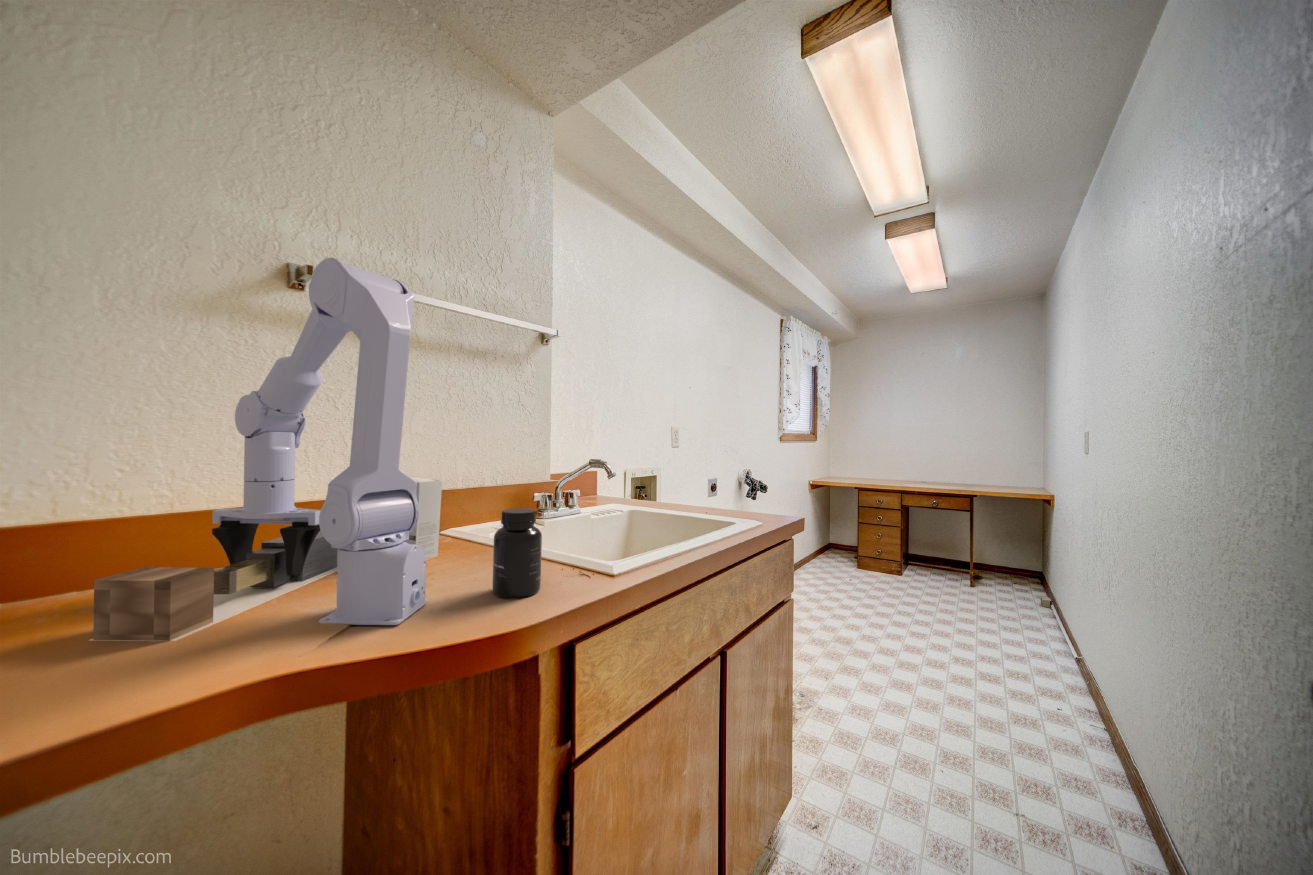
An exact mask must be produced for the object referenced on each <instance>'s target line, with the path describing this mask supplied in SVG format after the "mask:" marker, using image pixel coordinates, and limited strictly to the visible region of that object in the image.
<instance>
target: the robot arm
mask: <svg viewBox="0 0 1313 875" xmlns="http://www.w3.org/2000/svg"><path fill="white" fill-rule="evenodd" d="M308 297H309V303H310V305H311V308H312V309H311V312H310V313H309V316H308V318H307V319H306V321H305V324H304V326H303V328H302V331H301V333H300V335H299V337H298V340H297V341H296V344H295V346H294V348H293V351H292V352H291V355H290V356H289V355H288V356H284V357H283V356H282V357H280V358H277V359H276V360H275V363H274V364H273V365H272V367H271V369H270V371H269V373H268V374H267V375H266V377H265V379H264V380H263V382H262V384H261V385H260V387H259V389H258V390H252V391H251V392H250V393H249V394H245V395H243V396H241V397H240V398H239V400H238V403H237V405H236V408H235V412H234V423H235V427H236V429H237V431H238V433H239V434H240V435H241V436H243V437H244V449H243V450H244V453H243V455H244V456H243V459H244V460H243V507H239V508H237V507H236V508H234V507H233V508H228V507H227V508H221V509H215V510H214V509H213V510H212V524H213V525H214V524H215V525H219V526H218V527H214V528H212V529H211V534H212V535H213V536H214V537H215V538H216V540H217V541H218V542H219V544H220V546H221V547H222V549H223V551H224V553H225V555H226V556H227V560H228V562H229V565H232V564H235V563H238V562H242V561H245V560H246V553H249V552H252V551H253V546H254V542H255V541H254V540H255V536H256V533H257V530H258V527H259V525H260V524H271V525H272V524H273V525H274V524H275V525H281V524H282V525H290V526H284V527H281V528H279V532H280V533H279V534H280V535H281V537H282V538H283V541H284V546H285V551H286V572H287V576H293V575H295V574H298V573H301V572H302V570H303V567H304V563H305V560H306V557H307V554H308V552H309V549H310V547H311V545H312V543H313V541H314V539H315V538H316V536H317V534H318V533H319V531H320V530H321V533H322V535H323V537H324V538H325V539H326V540H327V542H328V543H329V544H331V547H332V548H337V571H336V607H335V609H336V610H335V611H333V612H331V613H329V614H327V615H326V616H324V617H322V618H321V619H318V624H328V625H329V624H331V625H332V624H341V625H342V624H344V625H345V624H346V625H347V624H349V625H351V626H356V625H357V626H397V625H400V624H401V623H402V622H404V621H405V620H406V619H408V618H409V617H411V616H412V615H413V614H414V613H416V612H418V610H420V609H421V608H422V607H424V606H425V605H426V604H428V602H429V600H428V598H426V578H427V577H426V574H427V569H426V566H427V562H426V561H427V560H426V557H425V552H424V550H423V548H422V547H421V546H419V545H413V544H408V543H406V542H404V541H405V540H408V539H409V532H411V531H412V530H413V529H414V528H415V526H416V525H417V522H418V519H419V505H418V501H417V496H416V487H417V483H416V482H415V481H414V480H413V479H412V478H413V477H412V478H411V476H409V475H408V474H407V473H406V472H404V471H403V470H402V469H400V460H401V458H400V457H401V447H402V438H403V437H402V436H403V426H404V425H403V423H404V412H405V402H406V401H405V400H406V392H407V380H408V379H407V378H408V369H409V358H410V357H409V356H410V347H411V337H412V336H411V335H412V329H413V328H412V327H413V317H414V315H413V314H414V307H415V306H414V305H415V303H414V302H415V295H414V294H413V293H412V291H410V289H409V288H408V287H407V285H406V284H404V283H403V282H402V281H400V280H398V279H394V278H389V277H386V276H383V275H381V274H378V273H375V272H372V271H369V270H366V269H363V268H360V267H358V266H354V265H351V264H350V263H346V262H343V261H342V260H340V259H338V258H335V257H326V258H324V259H323V260H321V261H320V262H319V263H318V264H317V265H316V266H315V267H314V269H313V271H312V274H311V277H310V282H309V284H308ZM351 332H352V333H353V334H354V335H355V336H356V337H357V339H358V340H359V351H358V352H359V353H358V362H357V376H356V387H355V398H354V412H353V422H352V424H353V425H352V432H351V433H352V434H351V445H350V446H351V447H350V458H349V466H348V467H347V468H345V470H343V471H342V472H341V473H339V474H338V475H336V477H334V478H333V479H332V480H330V481H329V482H328V484H327V491H326V492H327V493H326V497H325V501H324V503H323V505H322V507H321V508H320V509H310V508H303V507H297V506H295V486H296V449H299V447H300V445H301V435H302V433H303V431H304V430H305V427H306V421H307V419H306V417H305V413H304V411H305V409H306V407H307V406H308V404H309V403H310V402H311V400H312V399H313V397H314V395H315V394H316V392H317V391H318V389H319V387H320V386H321V385H322V383H323V381H324V376H323V374H322V372H321V370H320V369H321V368H322V366H323V365H324V364H325V362H326V361H327V360H328V359H329V358H330V356H331V355H332V354H333V353H334V352H335V350H336V349H337V348H338V347H339V345H340V344H341V343H342V341H343V340H344V339H345V337H347V335H348V334H349V333H351Z"/></svg>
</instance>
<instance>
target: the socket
mask: <svg viewBox="0 0 1313 875" xmlns="http://www.w3.org/2000/svg"><path fill="white" fill-rule="evenodd" d="M214 570H215V567H176V566H175V567H173V566H171V567H169V566H168V567H167V566H166V567H163V566H162V567H161V566H160V567H159V566H156V567H155V566H153V567H152V566H148V567H147V566H144V567H141V568H136V569H131V570H128V571H125V572H121V573H116V574H113V575H110V576H109V575H108V576H106V577H102V578H97V579H94V581H93V584H94V585H93V634H92V636H93V637H92V639H93V640H143V641H142V642H171V641H170V640H173V639H175V638H177V637H180V636H182V635H184V634H187V633H189V632H191V631H194V630H196V629H198V628H201V627H203V626H205V625H208V624H210V623H212V622H213V603H214Z"/></svg>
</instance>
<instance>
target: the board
mask: <svg viewBox="0 0 1313 875" xmlns="http://www.w3.org/2000/svg"><path fill="white" fill-rule="evenodd" d="M335 572H336V573H337V567H336V568H334V569H331V570H329V571H326V572H324V573H322V574H319V575H317V576H314V577H312V578H310V579H307V580H305V581H288V582H286V583H283V584H281V585H278V586H276V587H247V588H244V589H241V590H239V591H236V592H235V593H232V594H229V595H228V594H214V603H213V622H212V623H210V624H208V625H205V626H203V627H201V628H198V629H196V630H194V631H191V632H189V633H187V634H184V635H182V636H180V637H177V638H175V639H173V640H170V641H169V642H177V641H178V640H181V639H182V638H185V637H188V636H190V635H193V634H195V633H197V632H199V631H201V630H205V629H206V628H208V627H211V626H213V625H216V624H217V623H220V622H222V621H225V620H227V619H230V618H231V617H234V616H236V615H238V614H241V613H244V612H245V611H249V610H250V609H252V608H255V607H258V606H260V605H262V604H264V603H267V602H268V601H271V600H274V599H275V598H278V597H280V596H282V595H284V594H287V593H289V592H292V591H294V590H296V589H299V588H301V587H304V586H305V585H308V584H311V583H313V582H315V581H317V580H320V579H322V578H324V577H326V576H330V575H331V574H333V573H335ZM88 641H89V642H90V641H91V642H92V641H94V642H95V641H96V642H98V641H99V642H101V641H102V642H105V641H106V642H108V641H109V642H110V641H112V642H114V641H115V642H122V641H123V642H124V641H125V642H144V641H143V640H93V638H91V639H88Z"/></svg>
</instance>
